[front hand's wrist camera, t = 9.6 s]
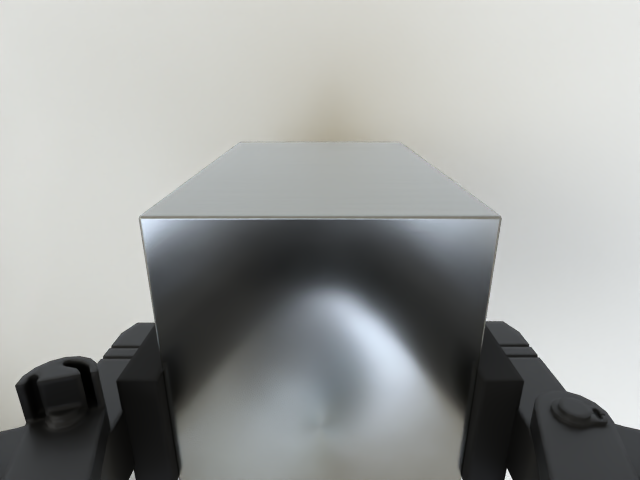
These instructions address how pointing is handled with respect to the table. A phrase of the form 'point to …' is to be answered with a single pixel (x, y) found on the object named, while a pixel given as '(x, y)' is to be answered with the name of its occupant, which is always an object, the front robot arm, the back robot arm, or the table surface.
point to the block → (320, 313)
